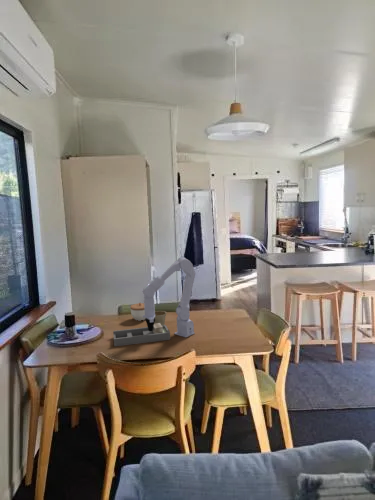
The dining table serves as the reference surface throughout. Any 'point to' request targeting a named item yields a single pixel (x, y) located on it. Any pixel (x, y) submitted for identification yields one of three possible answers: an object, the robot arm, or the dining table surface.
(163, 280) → the robot arm
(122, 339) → the channel
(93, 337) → the dining table surface
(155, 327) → the cream block
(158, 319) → the flower pot
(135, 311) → the lidded bowl
